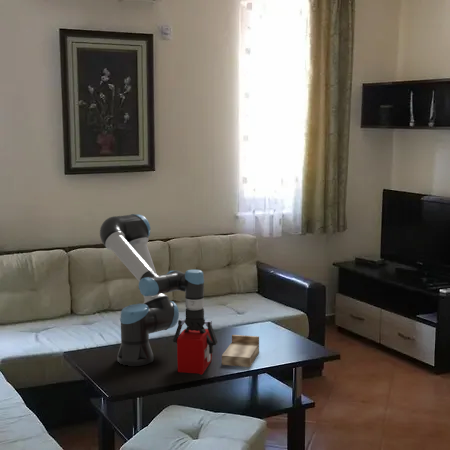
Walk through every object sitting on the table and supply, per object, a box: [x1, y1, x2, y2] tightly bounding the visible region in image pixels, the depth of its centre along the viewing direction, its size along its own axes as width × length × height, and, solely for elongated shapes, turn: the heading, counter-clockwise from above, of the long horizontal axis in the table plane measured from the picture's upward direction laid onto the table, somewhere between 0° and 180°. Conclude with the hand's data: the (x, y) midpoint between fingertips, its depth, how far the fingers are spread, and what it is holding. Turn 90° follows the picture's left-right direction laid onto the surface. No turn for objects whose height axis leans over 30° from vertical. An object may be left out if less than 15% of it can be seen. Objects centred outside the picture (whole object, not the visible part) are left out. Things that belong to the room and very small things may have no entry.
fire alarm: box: [176, 328, 213, 375], centre depth 283 cm, size 16×11×15 cm
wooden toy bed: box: [221, 334, 260, 368], centre depth 295 cm, size 12×20×7 cm, turn 166°
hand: (195, 359), depth 284 cm, fingers closed on fire alarm, 11 cm apart
